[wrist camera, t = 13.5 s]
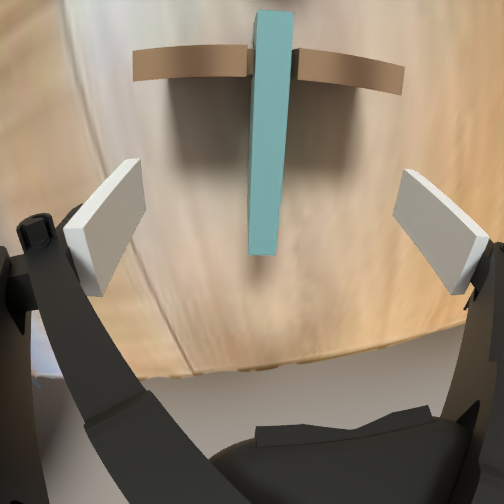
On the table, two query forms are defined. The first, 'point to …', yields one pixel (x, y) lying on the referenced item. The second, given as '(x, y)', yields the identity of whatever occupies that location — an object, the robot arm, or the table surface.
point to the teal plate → (268, 127)
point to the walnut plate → (241, 63)
